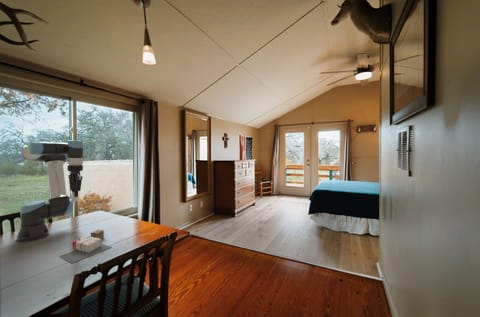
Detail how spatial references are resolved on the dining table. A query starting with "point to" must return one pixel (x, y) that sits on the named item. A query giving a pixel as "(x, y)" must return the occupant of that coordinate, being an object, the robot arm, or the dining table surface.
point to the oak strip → (68, 252)
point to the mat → (83, 254)
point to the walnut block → (98, 234)
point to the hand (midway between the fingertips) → (75, 201)
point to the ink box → (86, 244)
